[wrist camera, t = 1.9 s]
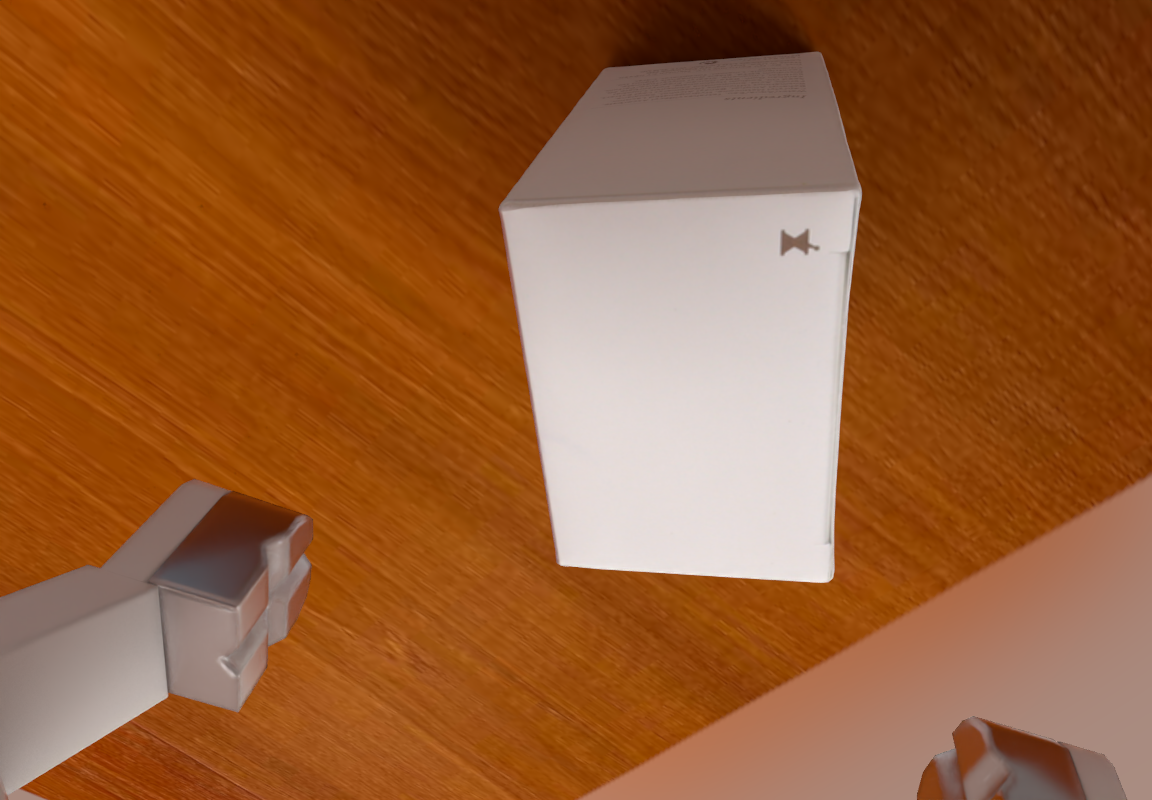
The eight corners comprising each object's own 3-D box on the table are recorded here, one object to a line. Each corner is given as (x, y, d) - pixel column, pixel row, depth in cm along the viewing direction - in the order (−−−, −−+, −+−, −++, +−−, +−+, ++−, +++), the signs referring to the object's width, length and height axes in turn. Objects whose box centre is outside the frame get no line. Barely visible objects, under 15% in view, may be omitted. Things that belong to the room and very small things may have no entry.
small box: (602, 63, 22) (487, 191, 13) (827, 45, 20) (867, 176, 12) (625, 337, 26) (549, 575, 17) (812, 337, 25) (834, 593, 16)
